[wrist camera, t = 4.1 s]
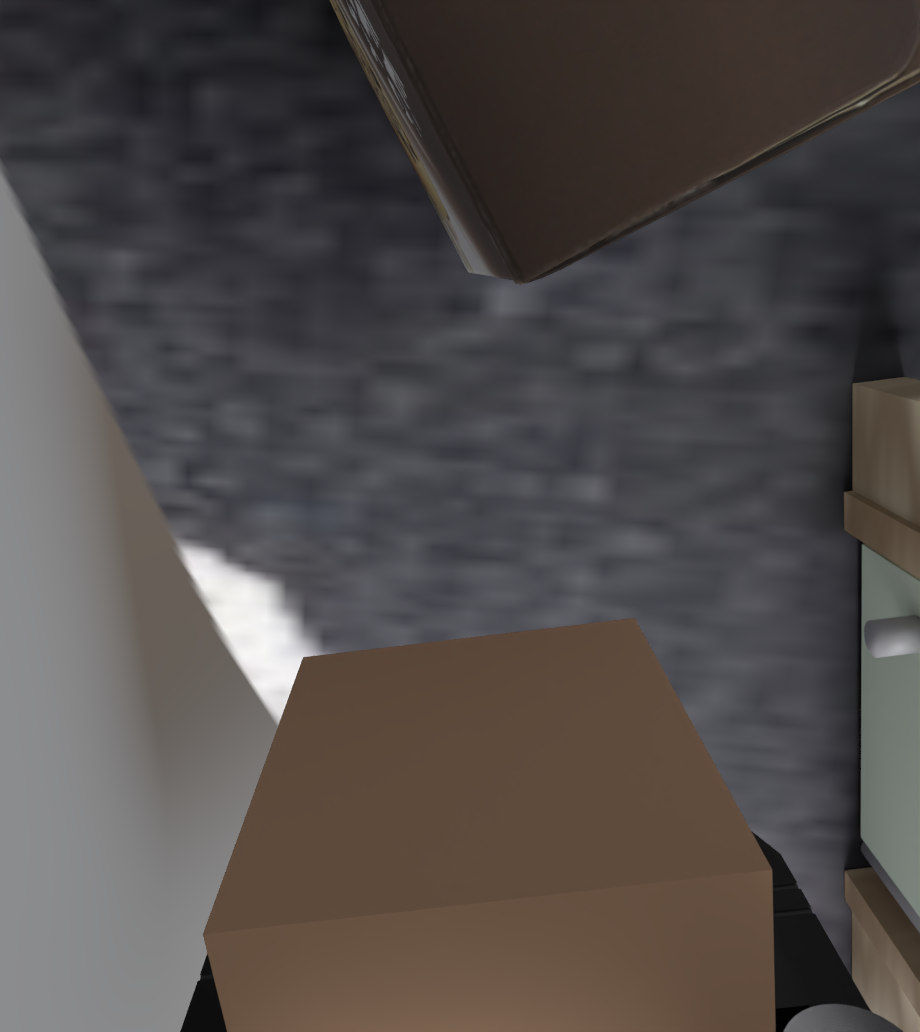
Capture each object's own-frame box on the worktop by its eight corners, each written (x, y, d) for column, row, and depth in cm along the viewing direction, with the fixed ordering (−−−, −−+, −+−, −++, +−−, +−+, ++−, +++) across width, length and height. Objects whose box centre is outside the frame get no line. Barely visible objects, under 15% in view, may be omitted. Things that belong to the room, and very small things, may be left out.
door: (817, 546, 26) (943, 638, 19) (897, 536, 26) (1050, 625, 19) (820, 864, 29) (930, 1037, 22) (891, 856, 29) (1022, 1026, 22)
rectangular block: (303, 657, 12) (202, 934, 7) (634, 618, 11) (772, 869, 7) (378, 1059, 13) (342, 1496, 9) (662, 1027, 13) (784, 1450, 9)
